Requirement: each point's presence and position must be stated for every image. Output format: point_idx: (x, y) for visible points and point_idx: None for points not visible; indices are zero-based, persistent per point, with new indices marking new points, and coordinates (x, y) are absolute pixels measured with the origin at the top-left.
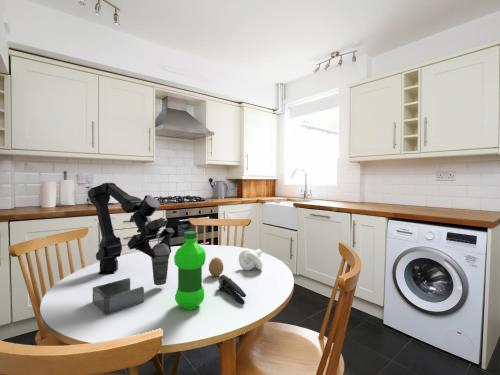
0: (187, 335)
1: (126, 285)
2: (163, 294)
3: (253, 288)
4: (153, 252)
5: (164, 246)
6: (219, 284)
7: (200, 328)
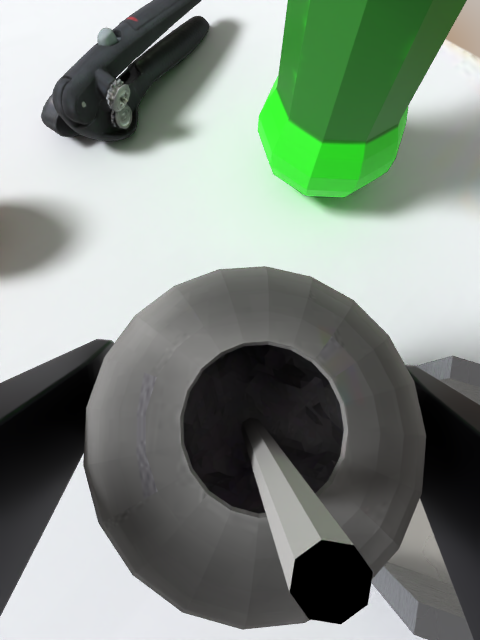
0: (462, 76)
1: (422, 587)
2: None
3: (55, 41)
4: (446, 400)
5: (270, 282)
6: (117, 120)
7: None
